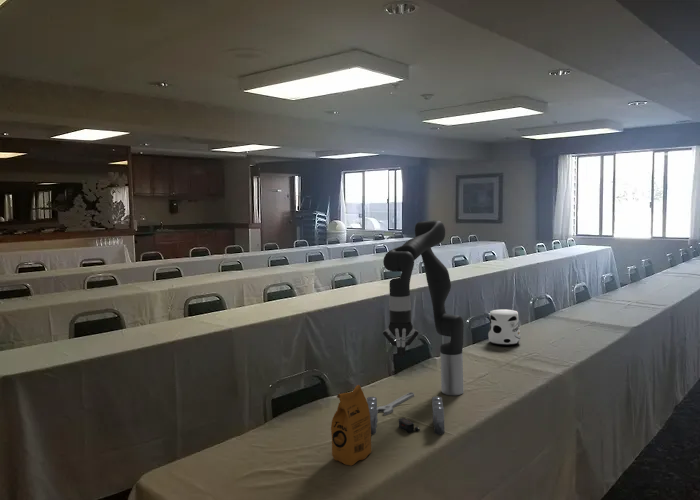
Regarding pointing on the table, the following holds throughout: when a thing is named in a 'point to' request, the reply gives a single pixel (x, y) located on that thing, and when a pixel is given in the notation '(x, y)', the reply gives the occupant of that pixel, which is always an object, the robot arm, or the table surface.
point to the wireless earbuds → (407, 425)
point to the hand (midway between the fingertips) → (401, 357)
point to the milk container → (504, 327)
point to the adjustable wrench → (394, 404)
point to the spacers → (437, 414)
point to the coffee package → (351, 428)
